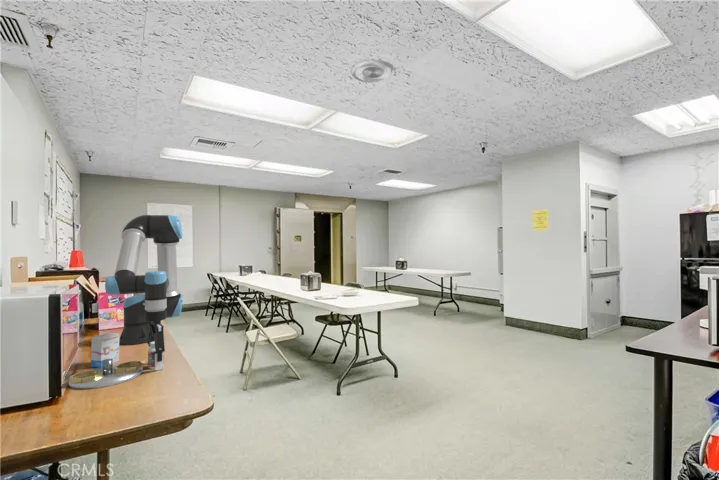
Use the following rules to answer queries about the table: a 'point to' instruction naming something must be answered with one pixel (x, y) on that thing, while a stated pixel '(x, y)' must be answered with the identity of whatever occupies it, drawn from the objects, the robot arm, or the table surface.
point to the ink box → (104, 349)
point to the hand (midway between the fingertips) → (155, 366)
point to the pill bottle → (152, 356)
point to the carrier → (106, 375)
